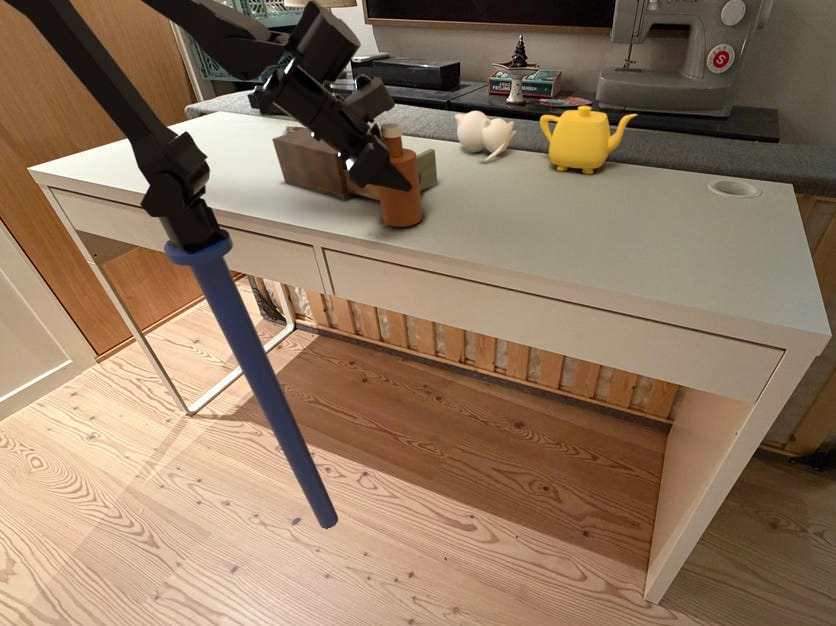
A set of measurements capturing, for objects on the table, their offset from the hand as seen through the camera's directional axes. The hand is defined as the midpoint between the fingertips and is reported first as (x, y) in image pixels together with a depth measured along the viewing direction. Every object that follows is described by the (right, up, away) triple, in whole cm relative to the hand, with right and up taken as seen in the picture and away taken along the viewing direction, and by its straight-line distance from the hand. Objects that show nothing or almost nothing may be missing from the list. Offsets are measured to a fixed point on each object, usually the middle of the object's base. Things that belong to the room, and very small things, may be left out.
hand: (406, 181), depth 72 cm
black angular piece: (-36, +39, +53) cm, 75 cm away
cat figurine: (+12, +16, +27) cm, 34 cm away
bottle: (-1, -5, +4) cm, 6 cm away
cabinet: (-16, +7, +18) cm, 24 cm away
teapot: (+32, +11, +21) cm, 40 cm away
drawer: (-7, +4, +13) cm, 15 cm away
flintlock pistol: (-24, +24, +36) cm, 50 cm away
